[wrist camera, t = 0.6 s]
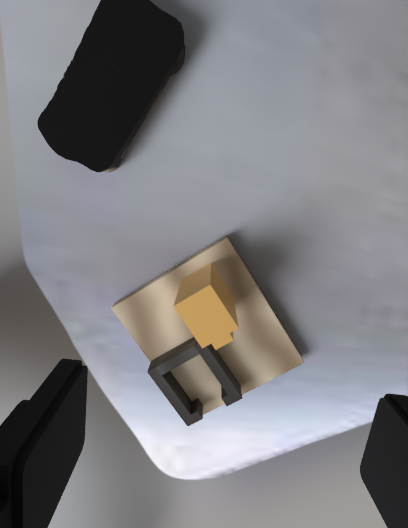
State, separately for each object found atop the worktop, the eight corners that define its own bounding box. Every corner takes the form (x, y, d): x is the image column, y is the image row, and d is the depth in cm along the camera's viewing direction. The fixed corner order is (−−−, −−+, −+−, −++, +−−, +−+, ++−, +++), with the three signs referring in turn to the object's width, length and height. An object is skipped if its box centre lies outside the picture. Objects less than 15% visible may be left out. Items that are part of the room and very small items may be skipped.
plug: (211, 262, 38) (210, 284, 30) (237, 303, 39) (243, 335, 32) (181, 280, 39) (173, 306, 31) (208, 320, 40) (206, 355, 32)
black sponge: (124, -6, 34) (113, -28, 30) (194, 49, 35) (192, 34, 31) (46, 137, 37) (28, 133, 34) (111, 183, 38) (100, 184, 35)
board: (226, 235, 39) (227, 241, 35) (301, 356, 42) (309, 374, 39) (114, 303, 41) (104, 316, 38) (193, 412, 45) (191, 434, 41)
